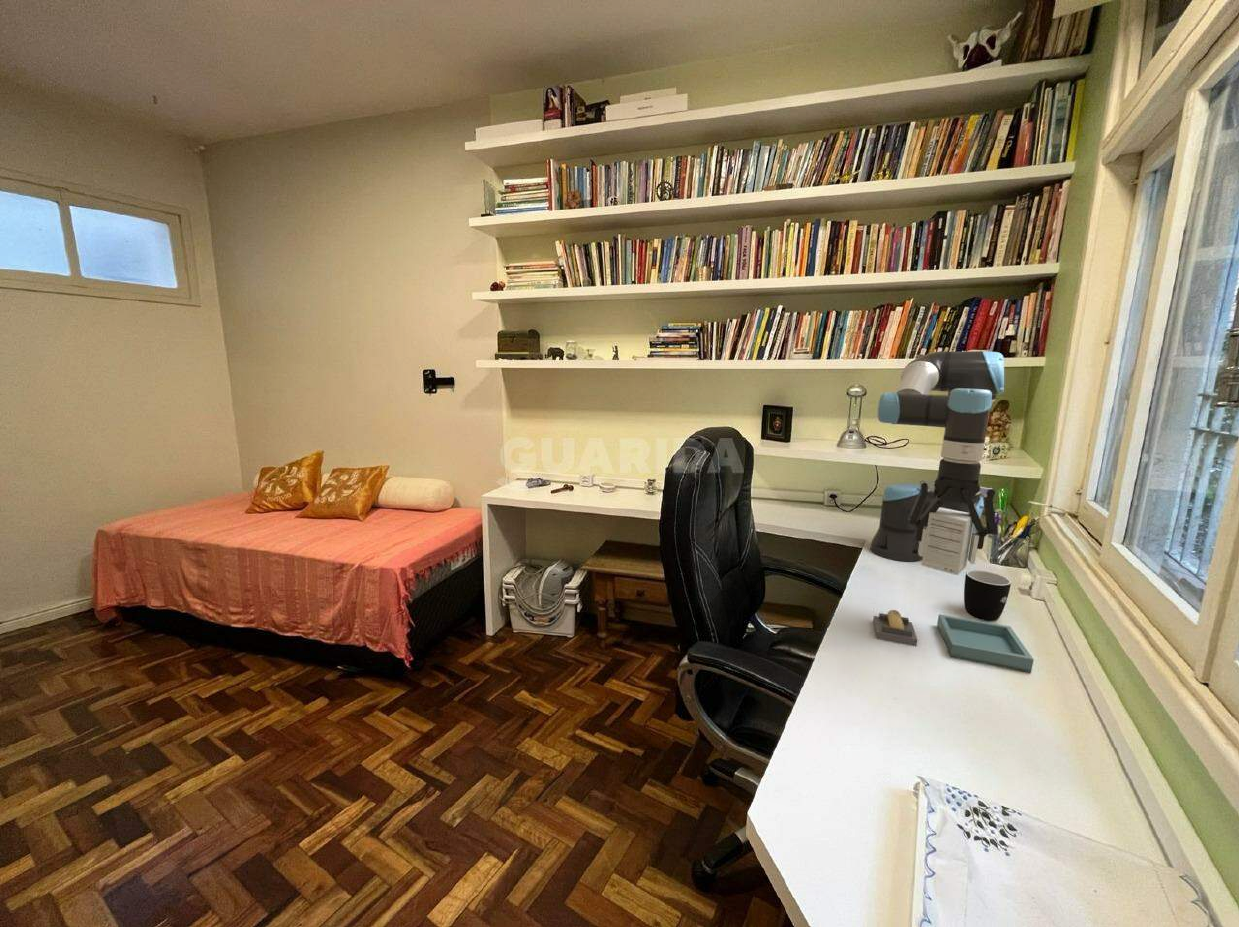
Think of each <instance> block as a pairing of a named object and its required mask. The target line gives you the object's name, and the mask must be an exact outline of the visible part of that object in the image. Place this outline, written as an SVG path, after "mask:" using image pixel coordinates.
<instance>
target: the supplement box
mask: <svg viewBox="0 0 1239 927" xmlns="http://www.w3.org/2000/svg"><path fill="white" fill-rule="evenodd" d="M926 528H927V532H926V539H925V545H924V553H923V558H922V559H921V566H923V567H926V568H930V569H933V570H937V571H939V572H940V571H941V572H944V573H948V574H952V575H956V576H959V574H961V573H962V571H963V570H965V569H966V567H967V564H968V555H969V549H970V542H971V536H972V529H973V520H972V517H971V515H970V514H969V513H967V512H962V511H956V510H951V509H946V508H939V509H938V510H937V511H936V512H935V513H933V512H930V513H929V519H928V526H927V527H926Z"/></svg>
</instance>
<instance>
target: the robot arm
mask: <svg viewBox="0 0 1239 927" xmlns="http://www.w3.org/2000/svg"><path fill="white" fill-rule="evenodd" d="M1004 386H1005V358H1004V355H1003V354H1002V353H1000V352H998V351H987V350H986V351H985V350H981V351H979V350H978V351H977V350H974V351H945V350H943V351H934V352H929V353H927V354H924V355H921V356H918V357H917V358H915V359H912V360H911V361H910V362H908V364H906V365H905V366H904V368H903V370H902V372H901V374H900V383H899V385H898V386H897V388H896V391H894V392H884V393H882V394H881V395H880V398H879V401H878V408H877V419H878V421H879V422H880V423H883V424H884V423H885V424H890V425H904V426H921V427H933V428H935V427H936V428H944V433H943V434H944V435H943V438H942V444H941V450H940V457H941V458H942V459H941V460H940V461H939V464H938V471H937V478H936V479H935V481H929V482H928V481H925V480H921V481H920V482H919V483H918V482H916V483H915V482H896V483H891V484H888V485H886V486H885V488H884V489H883V496H882V497H881V501H882V504H881V510H880V511H881V512H880V517H879V525H878V529H877V530H876V532H875V534H874V537H873V539H872V540H871V542H870V551H871V552H872V553H874V554H875V555H877V556H880V557H882V558H885V559H889V560H893V561H900V562H918V561H922V560H923V553H924V545H925V539H926V532H927V526H928V519H929V513H930V512H933V513H935V512H936V511H937V510H938V509H939V508H946V509H951V510H956V511H962V512H967V513H969V514H970V515H971V517H972V520H973V529H972V535H971V541H970V547H969V553H968V559H967V562H969V564H971V565H975V563H976V556H977V553H978V552H977V551H978V550H982V549H983V548H984V542H985V537H987V535H996V534H997V526H996V518H995V510H994V509H995V508H994V503H993V502H994V498H995V494H996V490H995V489H994V488H992V487H990V486H988V487H983V486H980V484H979V481H980V474H981V468H982V464H981V461H982V460H983V457H984V456H983V455H984V448H985V442H986V435H987V431H988V430H987V429H988V427H989V426H988V424H989V420H990V419H989V418H990V414H991V413H990V412H991V408H992V404H993V403H994V402H995V401H996V400H997V395H1002V394H1003V393H1004V391H1005V388H1004ZM930 392H946V393H947V395H946V394H943V395H942V394H930ZM933 488H934V489H933ZM932 489H933V490H932ZM983 510H984V516H985V517H984V518H985V526H986V527H984V525H983V523H982V521H981V517H982V514H983Z"/></svg>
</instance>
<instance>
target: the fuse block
mask: <svg viewBox="0 0 1239 927" xmlns="http://www.w3.org/2000/svg"><path fill="white" fill-rule="evenodd" d="M872 623H873V629H874V634H875V639H877V640H883V641H887V642H893V643H900V644H903V645H909V646H915V647H917V644H918V640H919V639H918V636H917V634H916V631H915V628H914V625H913V622H911V621H910V620H909V617H904V616H901V613H900V612H899V610H895V609H890V610H889V611H888V612H887V613H881V612H879V613H878V615H873V620H872Z"/></svg>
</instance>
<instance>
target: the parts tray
mask: <svg viewBox="0 0 1239 927" xmlns="http://www.w3.org/2000/svg"><path fill="white" fill-rule="evenodd" d="M936 622H937V624H936V627H937V629H938V632H939V634H940V636H941V638H942V641H943V643H944V646H945V649H946V650H947V653H948V655H949V657H950V658H954V659H958V660H964V661H969V662H974V663H978V664H984V665H988V666H995V667H999V668H1002V669H1009V670H1014V671H1018V672H1019V671H1020V672H1025V673H1029V674H1031V673H1032V670H1033V664H1034V660H1035V659H1034V658H1033V656H1032V655H1031V654H1030V652H1029V651H1028V649H1027V648H1026V647H1025V645H1024V644H1023V642H1022V641H1021V639H1020V638H1019V637H1018V635H1017V633H1016V632H1015V631H1014V629H1013V628H1012V626H1010V625H1006V624H1005V625H1003V624H997V623H993V622H988V621H983V620H974V619H969V618H963V617H956V616H951V615H947V614H946V615H945V614H940V613H939V614H938V618H937V621H936Z"/></svg>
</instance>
